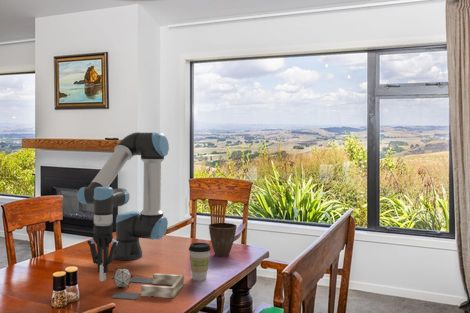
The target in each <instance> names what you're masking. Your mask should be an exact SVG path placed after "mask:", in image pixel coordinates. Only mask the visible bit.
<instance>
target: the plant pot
mask: <svg viewBox="0 0 470 313" xmlns="http://www.w3.org/2000/svg"><path fill="white" fill-rule="evenodd" d="M237 226H238V225H236V224H234V223H229V222H214V223H210V224H209V225H208V229H209V231H208V232H209V236H210V242H211V247H212V249H213V253H214V255H215V256H216V257H219V258H220V257H223V258H224V257H228V256H230V253H231V250H232V247H233V245H234V241H235V237H236V233H237V231H236V230H237Z"/></svg>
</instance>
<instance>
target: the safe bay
mask: <svg viewBox="0 0 470 313" xmlns="http://www.w3.org/2000/svg"><path fill="white" fill-rule="evenodd" d="M152 278H153V283H152V284H157V285H152V284H141V286H140V288H141V289H140V293H141V295H140V297H151V296H154V298H155V297H156V298H168V299H174V298H176V296H177V294H178V293H179V292H180V290H181V289H182V288H183V286H184V285H185V284H184V283H185V276H184V275H182V274H170V273H169V274H168V273H156V272H155V273H152ZM166 285H170V286H166Z"/></svg>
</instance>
